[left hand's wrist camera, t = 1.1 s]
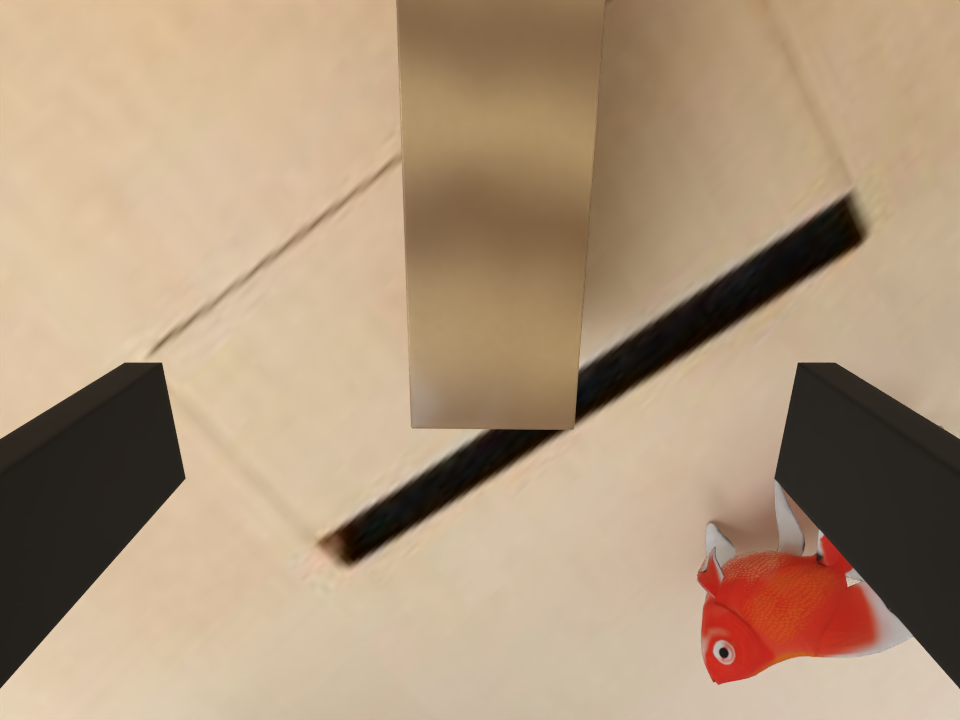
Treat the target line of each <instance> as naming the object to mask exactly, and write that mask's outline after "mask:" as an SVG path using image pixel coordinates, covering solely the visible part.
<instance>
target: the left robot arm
mask: <svg viewBox="0 0 960 720" xmlns="http://www.w3.org/2000/svg"><path fill="white" fill-rule="evenodd" d="M185 479H186V478H185V473H184V468H183V464H182V459H181V454H180V449H179V444H178V439H177V434H176V429H175V424H174V419H173V415H172V410H171V405H170V400H169V395H168V390H167V385H166V380H165V375H164V370H163V365H162V363H124V364H122V365H120V366H119V367H117V368H115V369H114V370H112V371H110V372H109V373H107V374H106V375H104V376H102V377H101V378H99V379H97V380H96V381H94V382H93V383H91V384H89V385H88V386H86V387H84V388H83V389H81V390H80V391H78V392H76V393H75V394H73V395H71V396H70V397H68V398H67V399H65V400H63V401H62V402H60V403H58V404H57V405H55V406H53V407H52V408H50V409H49V410H47V411H45V412H44V413H42V414H40V415H39V416H37V417H36V418H34V419H32V420H31V421H29V422H27V423H26V424H24V425H23V426H21V427H19V428H18V429H16V430H14V431H13V432H11V433H9V434H8V435H6V436H5V437H3V438H1V439H0V688H1V687H2V686H3V685H4V684H5V683H6V681H7V680H8V679H9V678H10V677H11V676H12V675H13V674H14V672H15V671H16V670H17V669H18V668H19V667H20V666H21V664H22V663H23V662H24V661H25V660H26V659H27V658H28V657H29V655H30V654H31V653H32V652H33V651H34V650H35V649H36V647H37V646H38V645H39V644H40V643H41V642H42V641H43V640H44V638H45V637H46V636H47V635H48V634H49V633H50V632H51V630H52V629H53V628H54V627H55V626H56V625H57V624H58V623H59V621H60V620H61V619H62V618H63V617H64V616H65V615H66V613H67V612H68V611H69V610H70V609H71V608H72V607H73V606H74V604H75V603H76V602H77V601H78V600H79V599H80V598H81V596H82V595H83V594H84V593H85V592H86V591H87V590H88V589H89V587H90V586H91V585H92V584H93V583H94V582H95V581H96V579H97V578H98V577H99V576H100V575H101V574H102V573H103V572H104V570H105V569H106V568H107V567H108V566H109V565H110V564H111V562H112V561H113V560H114V559H115V558H116V557H117V556H118V554H119V553H120V552H121V551H122V550H123V549H124V548H125V547H126V545H127V544H128V543H129V542H130V541H131V540H132V539H133V537H134V536H135V535H136V534H137V533H138V532H139V531H140V530H141V528H142V527H143V526H144V525H145V524H146V523H147V522H148V520H149V519H150V518H151V517H152V516H153V515H154V514H155V513H156V511H157V510H158V509H159V508H160V507H161V506H162V505H163V503H164V502H165V501H166V500H167V499H168V498H169V497H170V496H171V494H172V493H173V492H174V491H175V490H176V489H177V488H178V486H179V485H180V484H181V483H182V482H183V481H184V480H185ZM774 479H775V480H776V481H777V482H778V483H779V484H780V485H781V486H782V488H783V489H784V490H785V491H786V492H787V493H788V494H789V496H790V497H791V498H792V499H793V500H794V501H795V502H796V503H797V505H798V506H799V507H800V508H801V509H802V510H803V511H804V513H805V514H806V515H807V516H808V517H809V518H810V519H811V520H812V522H813V523H814V524H815V525H816V526H817V527H818V528H819V530H820V531H821V532H822V533H823V534H824V535H825V536H826V537H827V539H828V540H829V541H830V542H831V543H832V544H833V545H834V547H835V548H836V549H837V550H838V551H839V552H840V553H841V555H842V556H843V557H844V558H845V559H846V560H847V561H848V562H849V564H850V565H851V566H852V567H853V568H854V569H855V570H856V572H857V573H858V574H859V575H860V576H861V577H862V578H863V579H864V581H865V582H866V583H867V584H868V585H869V586H870V587H871V589H872V590H873V591H874V592H875V593H876V594H877V595H878V596H879V598H880V599H881V600H882V601H883V602H884V603H885V604H886V606H887V607H888V608H889V609H890V610H891V611H892V612H893V613H894V615H895V616H896V617H897V618H898V619H899V620H900V621H901V623H902V624H903V625H904V626H905V627H906V628H907V629H908V630H909V632H910V633H911V634H912V635H913V636H914V637H915V638H916V640H917V641H918V642H919V643H920V644H921V645H922V646H923V647H924V649H925V650H926V651H927V652H928V653H929V654H930V655H931V657H932V658H933V659H934V660H935V661H936V662H937V663H938V664H939V666H940V667H941V668H942V669H943V670H944V671H945V672H946V674H947V675H948V676H949V677H950V678H951V679H952V680H953V681H954V683H955V684H956V685H957V686H958V687H959V688H960V439H959V438H957V437H955V436H954V435H952V434H951V433H949V432H947V431H946V430H944V429H942V428H941V427H939V426H937V425H936V424H934V423H933V422H931V421H929V420H928V419H926V418H924V417H923V416H921V415H920V414H918V413H916V412H915V411H913V410H911V409H910V408H908V407H907V406H905V405H903V404H902V403H900V402H898V401H897V400H895V399H893V398H892V397H890V396H889V395H887V394H885V393H884V392H882V391H880V390H879V389H877V388H876V387H874V386H872V385H871V384H869V383H867V382H866V381H864V380H863V379H861V378H859V377H858V376H856V375H854V374H853V373H851V372H850V371H848V370H846V369H845V368H843V367H841V366H840V365H838V364H836V363H798V365H797V370H796V375H795V380H794V385H793V390H792V395H791V400H790V405H789V410H788V415H787V419H786V424H785V429H784V434H783V439H782V444H781V449H780V454H779V459H778V464H777V468H776V473H775V478H774Z"/></svg>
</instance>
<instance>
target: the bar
mask: <svg viewBox="0 0 960 720" xmlns="http://www.w3.org/2000/svg"><path fill="white" fill-rule="evenodd" d="M605 1H606V0H396V4H397V32H398V61H399V90H400V119H401V148H402V176H403V205H404V234H405V263H406V292H407V320H408V349H409V378H410V407H411V427H412V428H440V429H562V430H573V429H574V423H575V409H576V396H577V382H578V369H579V355H580V341H581V328H582V314H583V300H584V287H585V273H586V259H587V246H588V232H589V219H590V205H591V191H592V178H593V164H594V150H595V137H596V123H597V110H598V96H599V82H600V69H601V55H602V41H603V28H604V14H605Z"/></svg>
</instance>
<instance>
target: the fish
mask: <svg viewBox="0 0 960 720" xmlns="http://www.w3.org/2000/svg"><path fill="white" fill-rule="evenodd" d="M939 427H941V428H942V429H943V427H942V426H939ZM774 484H775V511H776V518H777V524H778V530H779V546H778V550H777V552H776V551H755V552H749V553H745V554H741V555H738V556H736V557H735V547H734V545H733V544H732V543H731V542H730V541H729V540H728V539H727V538H726V537H725V536H724V535H723V534H722V533H721V532H720V530H719V529H718V528H717V527H716V526H715V525H714V524H713V523H710V524H708V525H707V528H706V537H705V551H706V555H707V558H706V559H705V560H704V562H703V564H702V566H701V568H700V570H699V572H698V575H697V576H698V582H699V583H700V585H701V586H702V587H703V588H704V589H705V590H706V591H707V594H706V599H705V603H704V606H703V616H702V629H701V648H702V655H703V659H704V663H705V666H706V668H707V670H708V673H709V675H710V677H711V679H712V681H713V682H716V683H717V684H718V685H719V684H722V683H726V682H731V681H737V680H742V679H746V678H749V677H752V676H755V675H757V674H758V673H760V672H761V671H763V670H765V669H766V668H768V667H770V666H772V665H774V664H776V663H779V662H781V661H784V660H787V659H790V658H794V657H798V656H811V657H831V658H844V657H860V656H865V655H870V654H875V653H879V652H883V651H885V650H887V649H889V648H891V647H894V646H896V645H898V644H900V643H902V642H904V641H906V640H908V639H909V638H911V637H913V635H912V634H911V633H910V632H909V630H908V629H907V628H906V627H905V626H904V625H903V624H902V623H901V621H900V620H899V619H898V618H897V617H896V616H895V615H894V613H893V612H892V611H891V610H890V609H889V608H888V607H887V606H886V604H885V603H884V602H883V601H882V600H881V599H880V598H879V596H878V595H877V594H876V593H875V592H874V591H873V590H872V589H871V587H870V586H869V585H868V584H867V583H866V582H865V581H864V579H863V578H862V577H861V576H860V575H859V574H858V573H857V572H856V570H855V569H854V568H853V567H852V566H851V565H850V564H849V562H848V561H847V560H846V559H845V558H844V557H843V556H842V555H841V553H840V552H839V551H838V550H837V549H836V548H835V547H834V545H833V544H832V543H831V542H830V541H829V540H828V539H827V537H826V536H825V535H824V534H823V533H822V532H821V531H820V530H819V533H818V545H817V553H816V554H815V555H812V556H807V557H805V556H801V555H802V553H803V551H804V546H805V540H804V535H803V532H802V530H801V527H800V525H799V523H798V521H797V519H796V518H795V516H794V514H793V512H792V510H791V508H790V506H789V504H788V501H787V499H786V497H785V495H784V492H783V490H782V488H781V485H780V484H779V483H778V482H777V481H776V480H775V481H774ZM846 577H848V578H852V579H856V580H861V581H862V582H859V583H857V584H854V585H852V586H850V587H847V582H846Z"/></svg>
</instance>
